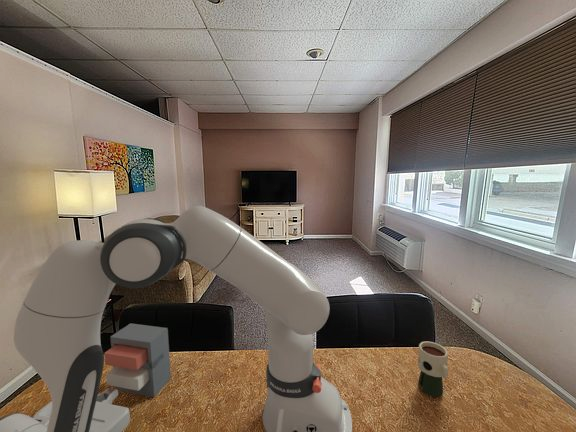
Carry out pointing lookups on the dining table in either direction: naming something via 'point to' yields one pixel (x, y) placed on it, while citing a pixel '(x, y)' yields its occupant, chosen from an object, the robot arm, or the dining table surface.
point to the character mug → (432, 368)
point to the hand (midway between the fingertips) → (113, 391)
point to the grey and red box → (157, 354)
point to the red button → (126, 356)
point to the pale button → (128, 377)
